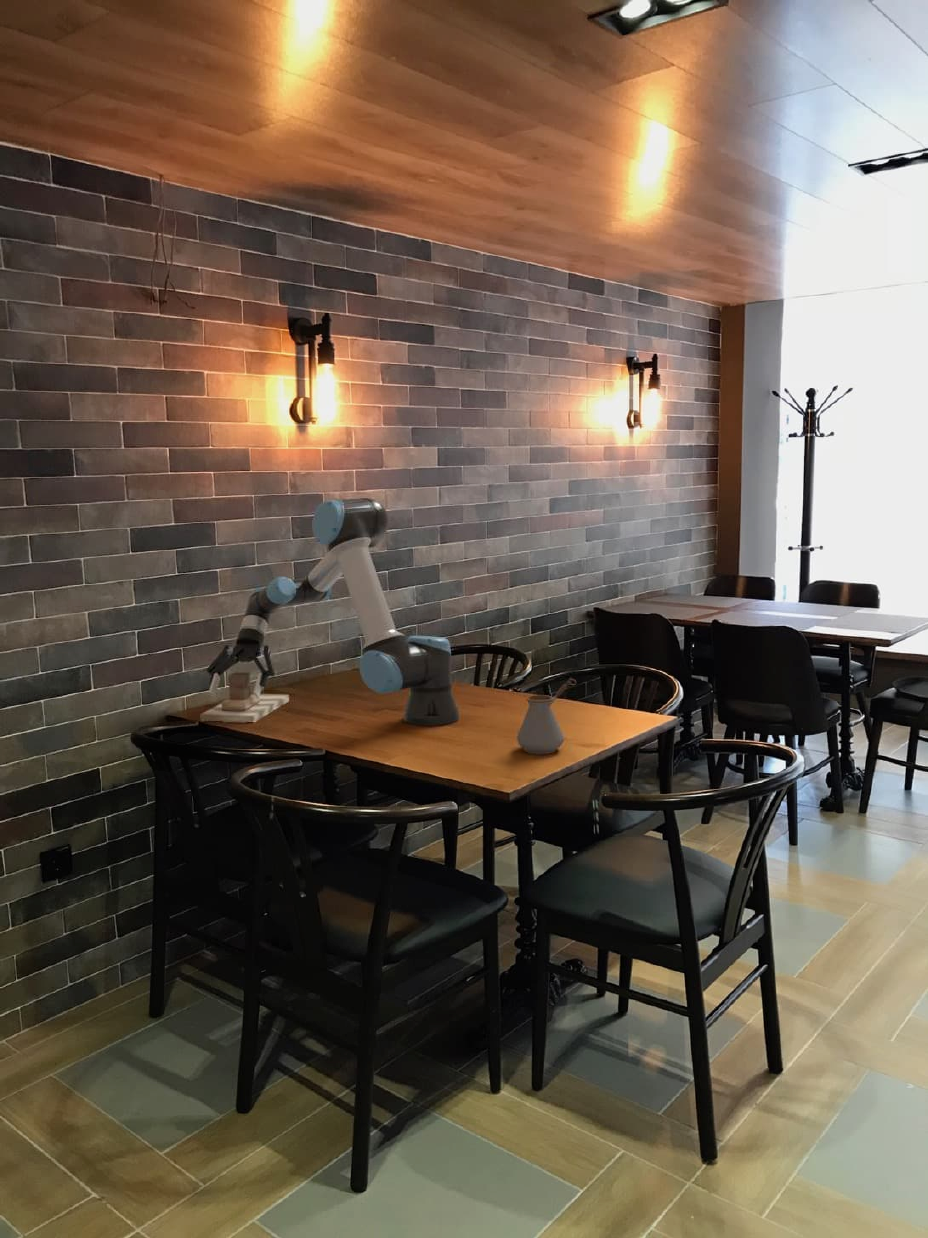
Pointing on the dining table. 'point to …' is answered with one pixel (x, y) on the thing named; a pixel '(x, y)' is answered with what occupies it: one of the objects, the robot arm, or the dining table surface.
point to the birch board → (251, 715)
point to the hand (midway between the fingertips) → (233, 695)
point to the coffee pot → (541, 725)
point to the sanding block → (239, 693)
